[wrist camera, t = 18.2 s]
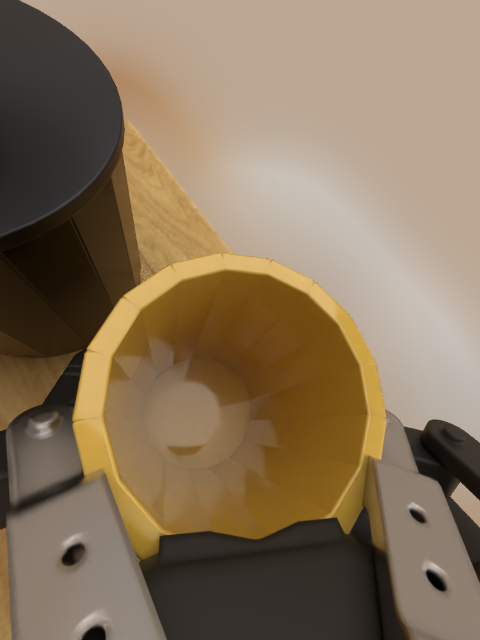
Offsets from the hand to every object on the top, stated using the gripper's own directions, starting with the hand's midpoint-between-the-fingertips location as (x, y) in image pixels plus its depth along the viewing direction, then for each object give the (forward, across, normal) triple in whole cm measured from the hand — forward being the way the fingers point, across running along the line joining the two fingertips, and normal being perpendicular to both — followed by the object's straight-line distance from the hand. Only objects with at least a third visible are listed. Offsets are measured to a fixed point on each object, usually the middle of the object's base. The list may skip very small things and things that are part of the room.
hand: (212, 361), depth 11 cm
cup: (+2, 0, +5) cm, 5 cm away
